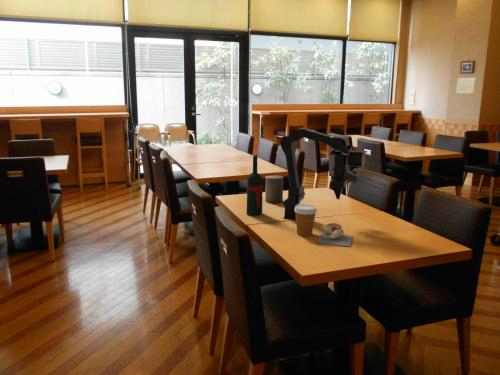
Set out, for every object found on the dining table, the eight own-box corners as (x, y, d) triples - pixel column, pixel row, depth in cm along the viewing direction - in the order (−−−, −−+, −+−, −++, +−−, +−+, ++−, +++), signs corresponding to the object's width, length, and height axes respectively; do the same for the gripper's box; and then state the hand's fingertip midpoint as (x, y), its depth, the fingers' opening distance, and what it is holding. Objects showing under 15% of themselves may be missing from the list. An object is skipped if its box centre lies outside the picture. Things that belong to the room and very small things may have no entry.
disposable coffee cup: (301, 238, 183) (302, 210, 180) (289, 232, 191) (290, 205, 188) (320, 235, 187) (321, 208, 184) (307, 229, 195) (308, 203, 192)
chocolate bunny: (339, 236, 189) (339, 247, 180) (322, 229, 189) (321, 241, 180) (344, 225, 187) (344, 236, 177) (326, 219, 187) (326, 230, 178)
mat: (317, 243, 177) (317, 242, 177) (321, 233, 189) (321, 232, 189) (350, 247, 174) (350, 246, 173) (352, 237, 186) (352, 236, 186)
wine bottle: (251, 218, 211) (252, 155, 204) (244, 212, 220) (244, 152, 214) (266, 216, 214) (267, 155, 207) (258, 211, 223) (259, 152, 216)
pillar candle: (283, 203, 238) (284, 176, 235) (265, 203, 239) (265, 175, 236) (282, 199, 248) (282, 173, 245) (264, 199, 248) (265, 172, 245)
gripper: (357, 169, 185) (354, 205, 189) (360, 163, 203) (357, 196, 206) (330, 168, 189) (328, 203, 192) (335, 161, 206) (333, 194, 210)
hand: (338, 199), depth 200 cm, fingers closed
